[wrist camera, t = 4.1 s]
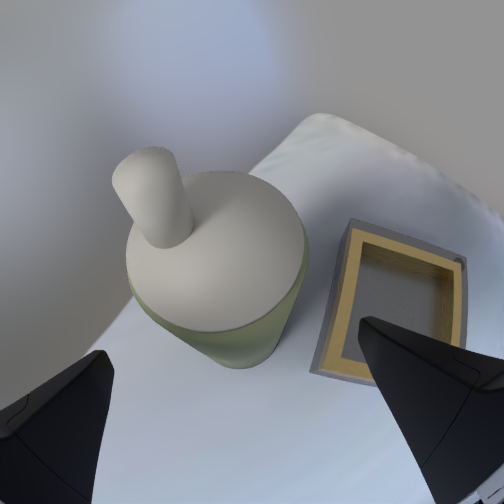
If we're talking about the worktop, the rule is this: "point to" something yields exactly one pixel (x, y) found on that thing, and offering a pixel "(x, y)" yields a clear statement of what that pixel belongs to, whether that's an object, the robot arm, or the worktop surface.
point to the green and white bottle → (211, 255)
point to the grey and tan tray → (389, 296)
